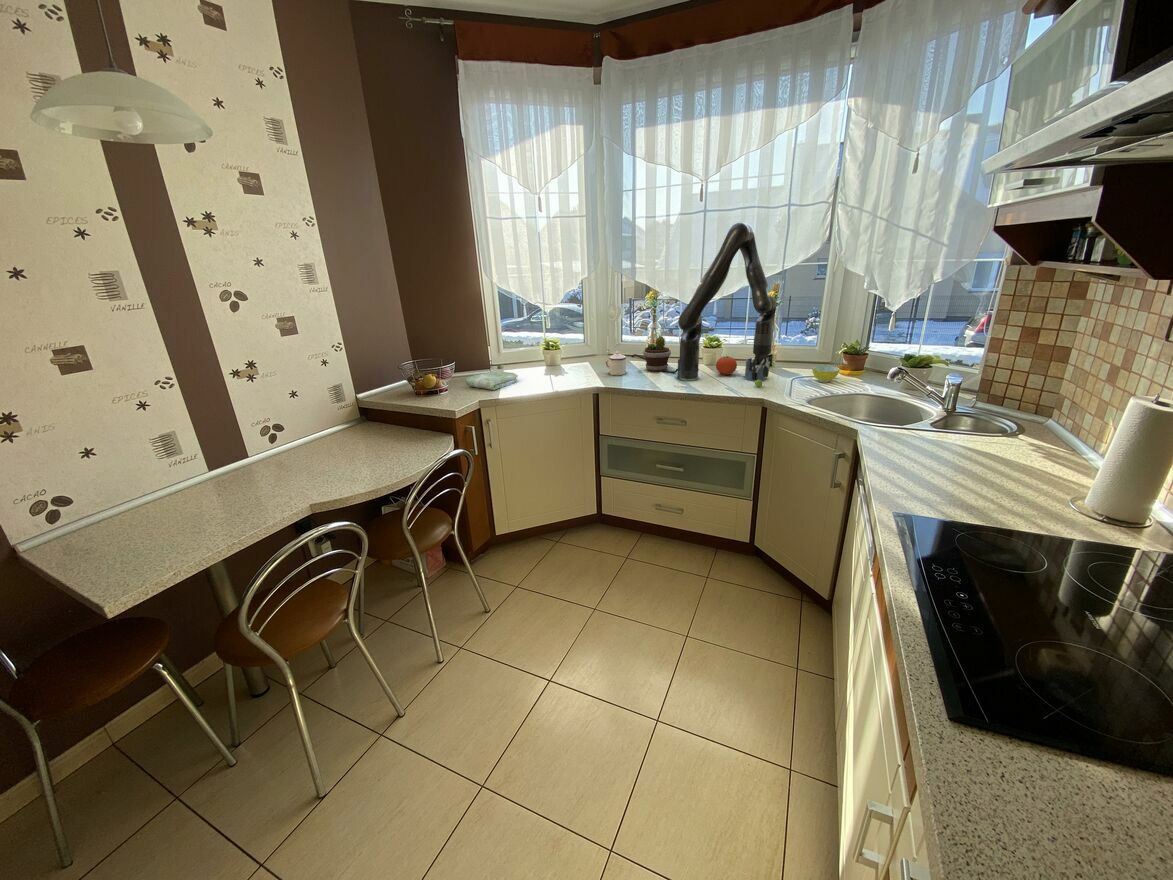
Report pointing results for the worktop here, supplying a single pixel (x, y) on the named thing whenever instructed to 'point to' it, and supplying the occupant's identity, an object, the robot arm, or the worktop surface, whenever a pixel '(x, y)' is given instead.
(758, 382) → the green grape
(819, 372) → the bowl
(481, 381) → the towel
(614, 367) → the teacup with lid
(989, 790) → the worktop surface
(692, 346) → the robot arm
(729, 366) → the tomato
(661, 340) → the flowerpot
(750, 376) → the cup
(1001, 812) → the worktop surface
